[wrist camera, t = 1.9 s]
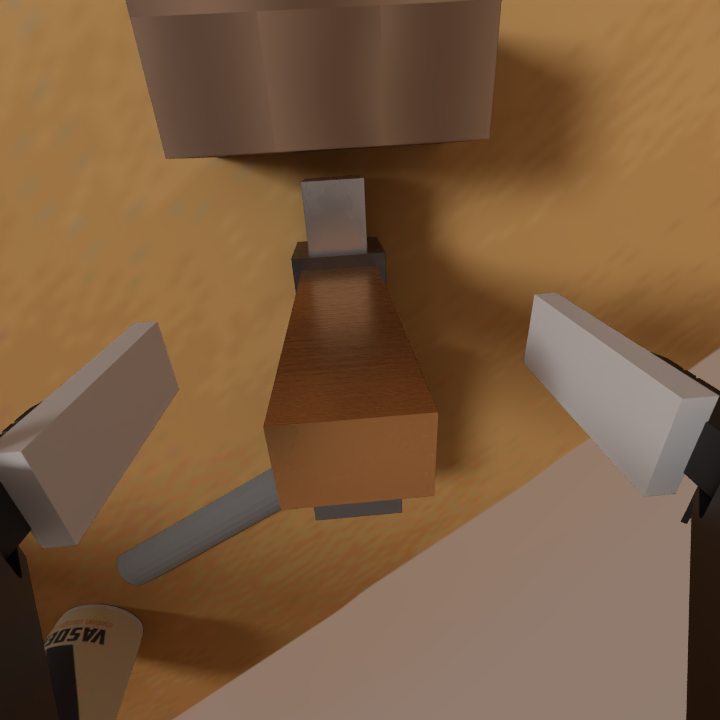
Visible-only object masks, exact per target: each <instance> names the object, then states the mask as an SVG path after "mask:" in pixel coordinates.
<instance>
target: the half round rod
mask: <svg viewBox="0 0 720 720" xmlns="http://www.w3.org/2000/svg"><path fill="white" fill-rule="evenodd" d="M279 510H281V508H280V504H279V499H278V494H277V489H276V485H275V480H274V475H273V471H272V468H271V469H269V470H267V471H266V472H264V473H262V474H261V475H259V476H257V477H255V478H254V479H252V480H250V481H248V482H247V483H245V484H243V485H241V486H240V487H238V488H236V489H235V490H233V491H231V492H229V493H228V494H226V495H224V496H222V497H221V498H219V499H217V500H215V501H214V502H212V503H210V504H209V505H207V506H205V507H203V508H202V509H200V510H198V511H196V512H195V513H193V514H191V515H189V516H188V517H186V518H184V519H183V520H181V521H179V522H177V523H176V524H174V525H172V526H170V527H169V528H167V529H165V530H163V531H162V532H160V533H158V534H156V535H155V536H153V537H151V538H150V539H148V540H146V541H144V542H143V543H141V544H139V545H137V546H136V547H134V548H132V549H130V550H129V551H127V552H125V553H124V554H122V555H120V556H119V557H118V562H117V568H118V571H119V574H120V575H121V577H122V578H123V579H124V580H125V581H126V582H128V583H130V584H132V585H142V584H146V583H147V582H149V581H151V580H153V579H155V578H157V577H158V576H160V575H162V574H164V573H166V572H168V571H169V570H171V569H173V568H175V567H177V566H178V565H180V564H182V563H184V562H186V561H188V560H189V559H191V558H193V557H195V556H197V555H199V554H200V553H202V552H204V551H206V550H208V549H209V548H211V547H213V546H215V545H217V544H219V543H220V542H222V541H224V540H226V539H228V538H230V537H231V536H233V535H235V534H237V533H239V532H241V531H242V530H244V529H246V528H248V527H250V526H251V525H253V524H255V523H257V522H259V521H261V520H262V519H264V518H266V517H268V516H270V515H272V514H273V513H275V512H277V511H279Z"/></svg>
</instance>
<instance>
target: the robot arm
mask: <svg viewBox="0 0 720 720" xmlns="http://www.w3.org/2000/svg"><path fill="white" fill-rule="evenodd" d="M524 364H525V365H526V366H527V368H528V369H529V370H530V371H531V372H532V373H533V374H534V375H535V376H536V378H537V379H538V380H539V381H540V382H541V383H542V384H543V385H544V386H545V388H546V389H547V390H548V391H549V392H550V393H551V394H552V395H553V396H554V398H555V399H556V400H557V401H558V402H559V403H560V404H561V405H562V406H563V408H564V409H565V410H566V411H567V412H568V413H569V414H570V415H571V417H572V418H573V419H574V420H575V421H576V422H577V423H578V424H579V425H580V427H581V428H582V429H583V430H584V431H585V432H586V433H587V434H588V435H589V437H590V438H591V439H592V440H593V441H594V442H595V443H596V444H597V445H598V447H599V448H600V449H601V450H602V451H603V452H604V453H605V454H606V455H607V457H608V458H609V459H610V460H611V461H612V462H613V463H614V464H615V465H616V467H617V468H618V469H619V470H620V471H621V472H622V473H623V474H624V475H625V477H626V478H627V479H628V480H629V481H630V482H631V483H632V484H633V485H634V487H635V488H636V489H637V490H638V491H639V492H640V493H641V494H642V495H643V496H644V497H647V496H658V495H670V494H676V492H677V489H678V487H679V485H680V483H681V480H682V478H683V476H684V474H685V475H687V476H688V477H689V478H690V479H691V480H692V481H693V482H694V483H695V484H696V485H697V486H698V487H697V489H696V491H695V493H694V495H693V497H692V499H691V502H690V504H689V506H688V508H687V510H686V512H685V514H684V516H683V518H682V520H681V522H683V523H686V524H687V523H688V521H689V519H690V518H691V555H690V556H691V557H690V595H689V636H688V674H687V679H688V680H687V714H686V720H720V391H719V390H717V389H716V388H714V387H713V386H711V385H710V384H708V383H706V382H705V381H703V380H701V379H700V378H696V376H695V375H693V374H692V373H690V372H689V371H687V370H683V368H682V367H680V366H679V365H677V364H676V363H674V362H672V361H671V360H669V359H667V358H665V357H662V356H660V355H657V354H654V353H652V352H649V351H647V350H646V349H644V348H643V347H641V346H640V345H638V344H636V343H635V342H633V341H632V340H630V339H628V338H627V337H625V336H624V335H622V334H621V333H619V332H617V331H616V330H614V329H613V328H611V327H610V326H608V325H606V324H605V323H603V322H602V321H600V320H598V319H597V318H595V317H594V316H592V315H591V314H589V313H587V312H586V311H584V310H583V309H581V308H579V307H578V306H576V305H575V304H573V303H572V302H570V301H568V300H567V299H565V298H564V297H562V296H560V295H559V294H557V293H545V294H535V295H534V301H533V307H532V313H531V320H530V326H529V332H528V338H527V344H526V351H525V357H524ZM178 390H179V388H178V384H177V381H176V378H175V375H174V372H173V369H172V366H171V363H170V359H169V356H168V353H167V350H166V347H165V344H164V341H163V338H162V334H161V331H160V328H159V325H158V322H157V321H155V322H141V323H134V324H133V325H132V326H131V327H129V328H128V329H127V330H126V331H125V332H124V333H122V334H121V335H120V336H119V337H118V338H117V339H115V340H114V341H113V342H112V343H111V344H109V345H108V346H107V347H106V348H105V349H104V350H102V351H101V352H100V353H99V354H98V355H97V356H95V357H94V358H93V359H92V360H91V361H90V362H88V363H87V364H86V365H85V366H84V367H83V368H81V369H80V370H79V371H78V372H77V373H76V374H74V375H73V376H72V377H71V378H70V379H68V380H67V381H66V382H65V383H64V384H63V385H61V386H60V387H59V388H58V389H57V390H56V391H54V392H53V393H52V394H51V395H50V396H49V397H47V398H46V399H45V400H44V401H42V402H40V403H39V404H37V405H35V406H33V407H31V408H30V409H28V410H27V411H26V412H25V413H24V414H22V415H21V416H20V417H19V418H18V419H16V420H15V421H14V422H15V423H14V424H10V425H9V426H8V427H7V428H6V429H4V430H3V431H2V434H0V720H59V717H58V712H57V707H56V702H55V697H54V692H53V687H52V682H51V678H50V673H49V668H48V663H47V658H46V653H45V648H44V643H43V638H42V633H41V628H40V623H39V618H38V614H37V609H36V604H35V599H34V594H33V589H32V584H31V579H30V574H29V569H28V564H27V559H26V556H25V554H24V553H23V551H22V550H21V549H20V547H19V546H18V545H19V544H20V543H21V542H22V540H23V539H24V538H25V537H26V535H27V534H28V533H29V532H30V530H31V532H32V533H33V535H34V536H35V538H36V540H37V541H38V543H39V544H40V546H41V547H42V548H53V547H65V546H76V545H77V544H78V543H79V541H80V540H81V538H82V537H83V535H84V534H85V532H86V531H87V529H88V528H89V526H90V525H91V523H92V521H93V520H94V518H95V517H96V515H97V514H98V512H99V511H100V509H101V508H102V506H103V505H104V503H105V502H106V500H107V499H108V497H109V496H110V494H111V493H112V491H113V489H114V488H115V486H116V485H117V483H118V482H119V480H120V479H121V477H122V476H123V474H124V473H125V471H126V470H127V468H128V467H129V465H130V464H131V462H132V460H133V459H134V457H135V456H136V454H137V453H138V451H139V450H140V448H141V447H142V445H143V444H144V442H145V441H146V439H147V438H148V436H149V435H150V433H151V431H152V430H153V428H154V427H155V425H156V424H157V422H158V421H159V419H160V418H161V416H162V415H163V413H164V412H165V410H166V409H167V407H168V406H169V404H170V402H171V401H172V399H173V398H174V396H175V395H176V393H177V392H178Z"/></svg>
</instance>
